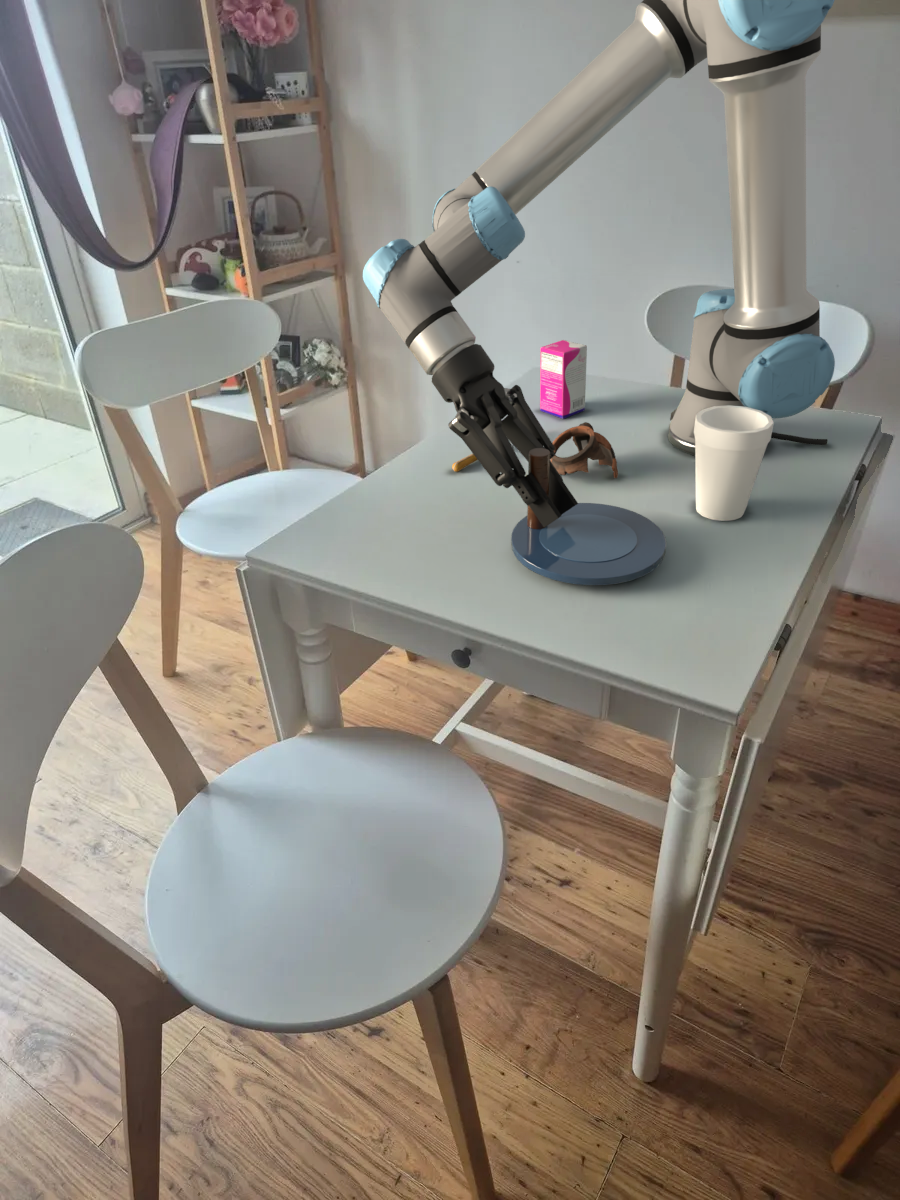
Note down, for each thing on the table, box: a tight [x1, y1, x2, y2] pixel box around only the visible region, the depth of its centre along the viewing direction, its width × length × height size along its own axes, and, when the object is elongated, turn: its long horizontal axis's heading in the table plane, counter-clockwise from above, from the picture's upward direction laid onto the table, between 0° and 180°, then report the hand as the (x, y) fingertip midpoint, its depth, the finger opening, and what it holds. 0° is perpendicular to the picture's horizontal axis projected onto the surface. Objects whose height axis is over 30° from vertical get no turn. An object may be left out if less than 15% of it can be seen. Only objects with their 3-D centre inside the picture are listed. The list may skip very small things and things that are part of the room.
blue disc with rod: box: [510, 448, 667, 586], centre depth 99 cm, size 19×19×11 cm
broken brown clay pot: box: [550, 421, 619, 479], centre depth 121 cm, size 12×10×8 cm
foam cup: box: [694, 405, 775, 522], centre depth 107 cm, size 10×9×13 cm
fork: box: [451, 438, 509, 473], centre depth 129 cm, size 2×2×20 cm
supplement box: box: [539, 339, 588, 420], centre depth 140 cm, size 6×6×12 cm
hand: (561, 515), depth 102 cm, fingers open, 3 cm apart
